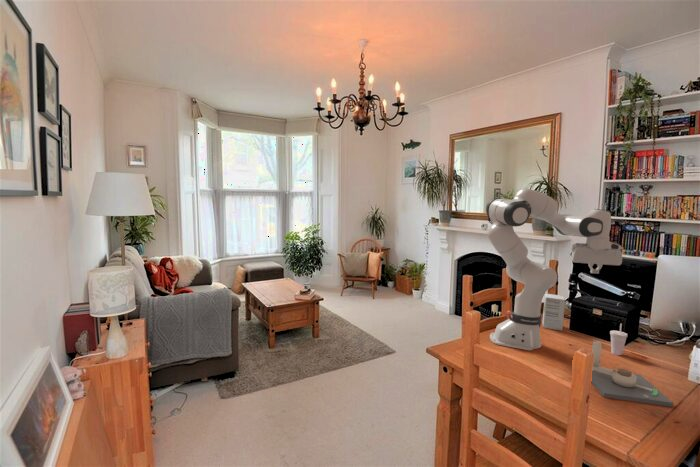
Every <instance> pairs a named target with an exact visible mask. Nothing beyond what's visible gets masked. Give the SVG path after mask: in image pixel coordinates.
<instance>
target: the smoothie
mask: <svg viewBox="0 0 700 467" xmlns="http://www.w3.org/2000/svg"><path fill="white" fill-rule="evenodd" d="M622 326H623V324H622V323H620V324H619V330H614V329H613V330H610V331H609V334H610V347H611V348H610V349H611V351H610V352H611V354H612V355H614V354H615V355H614V356H619V355H621V356H622V355H623V352H624V348H625V344H626V340H627V338H628V333H626V332H624V331H622Z"/></svg>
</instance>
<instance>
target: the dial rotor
mask: <svg viewBox="0 0 700 467" xmlns="http://www.w3.org/2000/svg"><path fill="white" fill-rule="evenodd" d="M602 344H603V343H602V342H600V341H597V340H593V341H592V347H591V348H592V350H591V354H592V353H593V354H594V362H593V370H595V371H598V372H601V373H605V374H608V375H611V376H612V381H613V382H614V383H616V384H618V385H621V386H624V387H630V388H633V387H635V386H637V387H640V388H643V389H646V390H649V391H652V389H649V388H646V387H643V386H639V385H636V378H637V377H636V376H635V375H634V374H635V373H632V371H629V370H628V369H624V368H618V369H611V368H608V367H605V366H602V365H601V357H602V356H601V355H602V347H603V346H602Z"/></svg>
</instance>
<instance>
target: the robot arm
mask: <svg viewBox="0 0 700 467" xmlns="http://www.w3.org/2000/svg"><path fill="white" fill-rule="evenodd" d="M485 211H486V212H485V213H486V216H487V219H488V223H489V224H491V226H490V227H489V228H488V230H487V237H488V239H489V241H490V242H491V244H492V246H493V248H494V249H495V251H496V252H497V253H498V254H499V256H500V257H501V258H502V260H503V261H504V262H505V264H506V268H505V272H506V273H505V274H506V275H507V276H508V277H509V278H511V279H512V280H513V281H515V282H518V283H521V284H523V289H522V291H521V292H519V293H517V294H515V298H514V305H513V306H514V308H513V309H514V310H513V311H511V310H507V311H506V314H507V315H508V319H506V320H503V321H502V322H500V323H498V324H497V325H496V328H495V330H494V332H490V334H489V340H490V341H491V343H493V344H495V345H498V346H504V347H508V348H513V349H514V348H515V349H520V350H523V351H524V350H526V351H533V350H535V349H537V350H538V349H540V348H541V347H542V340H541V333H540V328H541V323H542V315H541V310H542V301H543V298H544V297H545V294H547V291H548V290H550V289H551V288H553V287H554V286H555V285H556V284H557V282H558V281H557V280H558V273H557V271H556V270H555V269H554V268H552V267H550V266H548V265H546V264H543V263H539V262H535V261H532V260H531V259H529V258H528V257H527V256H528V254H529V249H528V248H527V246H526V245H525V244H524V241H522V239H521V238H520V236H518V234H517V233H516V232H515V230H514V227H521V226H524V224H526V223H527V221H528V220H529V218H530V217H532V218H533V219H537V220H540V221H543V222H545V223H547V224H549V225H550V226H552V227H553V228H555V230H556V231H557V232H558V233H559V234H560V235H562V236H572V237H580V238H586V242H584V243H583V242H582V243H580V242H577V243H574V244H572V246H571V251H572V252H571V255H570V256H571V257H570V261H571V262H572V263H577V264H579V263H580V264H588V267H589V269H590V271H589V272H590V274H595V275H596V274H597V275H598V274H600V271H601V269H602V267H603V265H606V266H621V265H622V263H623V252H622V251H621V249H622V245H620V244H619V243H615V242H613V241H610V238H611V237H610V231H611V227H612V216H611V212H610V211H608V210H605V209H598V208H593V209H591V210H590V212H588V213H586V214H583V215H572V214H561V213H558V212H557V211H558V202H557V200H555V199H554V198H552V197H551V196H549V195H547V194H545V193H542V191H539V190H535V189H531V188H522V189H519V190H518V191H517V192H516V193H515V195H514V197H513V199H509V198H503V197H495V198H493V199H491V200H489V201H488V203H487V204H486V206H485ZM594 265H596V266H597V267H596V268H593V266H594Z"/></svg>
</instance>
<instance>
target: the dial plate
mask: <svg viewBox="0 0 700 467" xmlns="http://www.w3.org/2000/svg"><path fill="white" fill-rule="evenodd" d="M633 374H634V375H635V376H636V377H637V378H636V385H639V386H643V387H646V388H649V389H652V391H649V390H646V389H643V388H640V387H637V386H635V387H633V388H630V387H624V386H621V385H618V384H616V383H614V382H613V381H612V376H611V375H608V374H605V373H601V372H598V371H595V370H593V371H592V383H591V384H592V385H593V386H594V388H596V390H597V391H598V392H599V393H600V395H601V396H602V397H603V398H607V399H615V400H620V401H626V402H627V401H629V402H635V403H643V404H648V405H654V406H655V405H656V406H663V407H671V408H673V405H674V402H673V401H672V400H670V399H669V398H668V397H667V396H666V395H664V394H663V392H662V391H660V390H659V389H658V388H657V387H656V386H654V385H653V384H652V383H651V382H649V381H648V380H647V379H646V378H645V377H644V376H642V375H641V374H637V373H633Z"/></svg>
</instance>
